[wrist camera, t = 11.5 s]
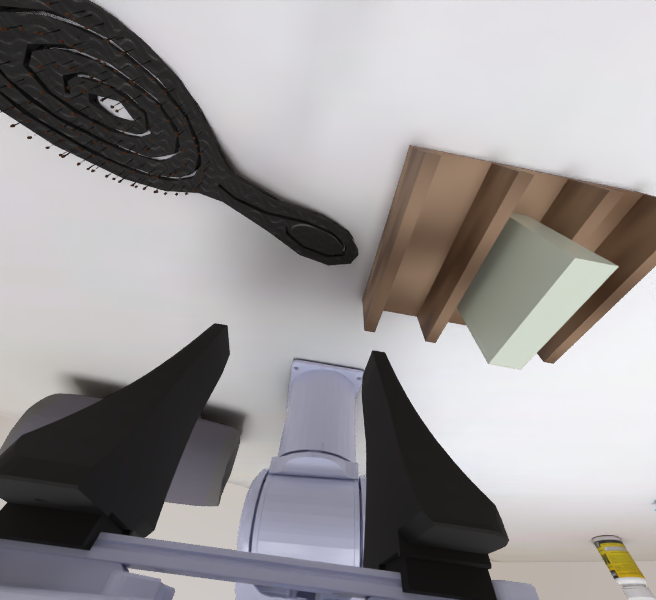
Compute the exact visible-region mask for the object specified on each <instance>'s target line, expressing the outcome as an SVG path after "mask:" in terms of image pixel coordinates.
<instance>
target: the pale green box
mask: <svg viewBox="0 0 656 600" xmlns="http://www.w3.org/2000/svg"><path fill="white" fill-rule="evenodd" d="M618 267H619V266H617V265H615V264H614V263H612V262H610V261H608V260H606V259H605V258H603V257H601V256H599V255H597V254H596V253H594V252H592V251H590V250H588V249H587V248H585V247H583V246H581V245H579V244H578V243H576V242H574V241H572V240H570V239H569V238H567V237H565V236H563V235H561V234H560V233H558V232H556V231H554V230H553V229H551V228H549V227H547V226H545V225H544V224H542V223H540V222H538V221H536V220H535V219H533V218H531V217H529V216H527V215H522V214H517V213H512V214H511V216H510V217H509V219H508V221H507V222H506V224H505V226H504V228H503V229H502V231H501V233H500V234H499V236H498V238H497V239H496V241H495V243H494V244H493V246H492V248H491V250H490V251H489V253H488V255H487V256H486V258H485V260H484V261H483V263H482V265H481V267H480V268H479V270H478V272H477V273H476V275H475V277H474V278H473V280H472V282H471V284H470V285H469V287H468V289H467V290H466V292H465V294H464V295H463V297H462V299H461V300H460V302H459V304H458V306H457V309H458V311H459V313H460V314H461V316H462V318H463V320H464V322H465V323H466V325H467V327H468V329H469V331H470V332H471V334H472V336H473V338H474V339H475V341H476V343H477V345H478V347H479V348H480V350H481V352H482V354H483V356H484V357H485V359H486V361H487V363H488V364H490V365H496V366H502V367H508V368H513V369H519V370H521V369H522V368H523V367H524V366H525V365H526V364H527V363H528V362H529V361H530V360H531V358H532V357H533V356H534V355H535V354H536V353H537V352H538V351H539V350H540V349H541V348H542V347H543V346H544V345H545V344H546V343H547V342H548V341H549V340H550V339H551V337H552V336H553V335H554V334H555V333H556V332H557V331H558V330H559V329H560V328H561V327H562V326H563V325H564V324H565V323H566V322H567V321H568V320H569V319H570V317H571V316H572V315H573V314H574V313H575V312H576V311H577V310H578V309H579V308H580V307H581V306H582V305H583V304H584V303H585V302H586V301H587V300H588V299H589V298H590V296H591V295H592V294H593V293H594V292H595V291H596V290H597V289H598V288H599V287H600V286H601V285H602V284H603V283H604V282H605V281H606V280H607V279H608V278H609V276H610V275H611V274H612V273H613V272H614V271H615V270H616V269H617V268H618Z"/></svg>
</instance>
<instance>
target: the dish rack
mask: <svg viewBox="0 0 656 600" xmlns="http://www.w3.org/2000/svg"><path fill="white" fill-rule="evenodd" d="M512 213H517V214H522V215H527V216H529V217H531V218H533V219H535V220H536V221H538V222H540V223H542V224H544V225H545V226H547V227H549V228H551V229H553V230H554V231H556V232H558V233H560V234H561V235H563V236H565V237H567V238H569V239H570V240H572V241H574V242H576V243H578V244H579V245H581V246H583V247H585V248H587V249H588V250H590V251H592V252H594V253H596V254H597V255H599V256H601V257H603V258H605V259H606V260H608V261H610V262H612V263H614V264H615V265H617V266H619V267H618V268H617V269H616V270H615V271H614V272H613V273H612V274H611V275H610V276H609V278H608V279H607V280H606V281H605V282H604V283H603V284H602V285H601V286H600V287H599V288H598V289H597V290H596V291H595V292H594V293H593V294H592V295H591V296H590V298H589V299H588V300H587V301H586V302H585V303H584V304H583V305H582V306H581V307H580V308H579V309H578V310H577V311H576V312H575V313H574V314H573V315H572V316H571V317H570V319H569V320H568V321H567V322H566V323H565V324H564V325H563V326H562V327H561V328H560V329H559V330H558V331H557V332H556V333H555V334H554V335H553V336H552V337H551V339H550V340H549V341H548V342H547V343H546V344H545V345H544V346H543V347H542V348H541V349H540V350H539V351H538V352H537V354H538V355H539V356H540V358H541V359H542V360H543V362H547V363H553V364H554V363H555V362H556V361H557V360H558V359H559V358H560V357H561V356H562V355H563V354H564V353H565V352H566V351H567V350H568V349H569V348H570V347H571V346H572V345H573V344H574V343H575V342H577V341H578V340H579V339H580V338H581V337H582V336H583V335H584V334H585V333H586V332H587V331H588V330H589V329H590V328H591V327H592V326H593V325H594V324H595V323H596V322H597V321H598V320H600V319H601V318H602V317H603V316H604V315H605V314H606V313H607V312H608V311H609V310H610V309H611V308H612V307H613V306H614V305H615V304H616V303H617V302H618V301H619V300H620V299H621V298H623V297H624V296H625V295H626V294H627V293H628V292H629V291H630V290H631V289H632V288H633V287H634V286H635V285H636V284H637V283H638V282H639V281H640V280H641V279H642V278H643V277H644V276H646V275H647V274H648V273H649V272H650V271H651V270H652V269H653V268H654V267H655V266H656V197H655V196H651V195H647V194H644V193H640V192H635V191H630V190H625V189H620V188H615V187H610V186H606V185H601V184H596V183H591V182H586V181H581V180H576V179H572V178H567V177H562V176H557V175H552V174H547V173H543V172H538V171H533V170H528V169H523V168H518V167H513V166H509V165H504V164H499V163H494V162H489V161H484V160H479V159H475V158H470V157H465V156H460V155H455V154H450V153H446V152H441V151H436V150H431V149H426V148H421V147H416V146H412V145H410V147H409V150H408V153H407V157H406V160H405V163H404V166H403V170H402V173H401V176H400V179H399V183H398V186H397V189H396V192H395V196H394V199H393V202H392V206H391V209H390V212H389V215H388V219H387V222H386V225H385V228H384V232H383V235H382V238H381V241H380V245H379V248H378V251H377V254H376V258H375V261H374V264H373V267H372V271H371V274H370V277H369V280H368V284H367V287H366V290H365V293H364V297H363V300H362V301H363V316H364V331H370V332H375V330H376V328H377V325H378V322H379V320H380V317H381V314H382V312H383V311H389V312H394V313H400V314H406V315H411V316H417V318H418V321H419V324H420V327H421V330H422V333H423V336H424V339H425V341H427V342H433V343H436V341H437V339H438V338H439V336H440V334H441V333H442V331H443V329H444V328H445V326H446V324H447V323H448V322H450V323H456V324H462V325H466V323H465V322H464V320H463V318H462V316H461V314H460V313H459V311H458V309H457V306H458V304H459V302H460V300H461V299H462V297H463V295H464V294H465V292H466V290H467V289H468V287H469V285H470V284H471V282H472V280H473V278H474V277H475V275H476V273H477V272H478V270H479V268H480V267H481V265H482V263H483V261H484V260H485V258H486V256H487V255H488V253H489V251H490V250H491V248H492V246H493V244H494V243H495V241H496V239H497V238H498V236H499V234H500V233H501V231H502V229H503V228H504V226H505V224H506V222H507V221H508V219H509V217H510V216H511V214H512Z"/></svg>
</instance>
